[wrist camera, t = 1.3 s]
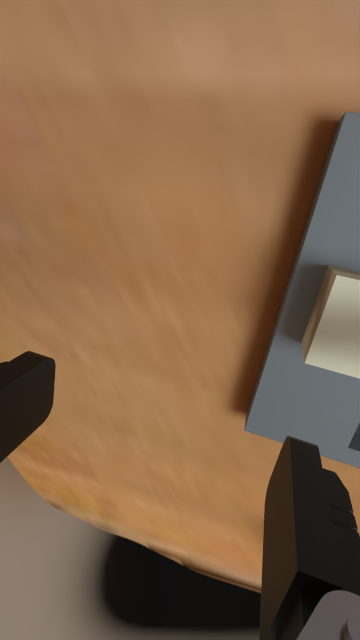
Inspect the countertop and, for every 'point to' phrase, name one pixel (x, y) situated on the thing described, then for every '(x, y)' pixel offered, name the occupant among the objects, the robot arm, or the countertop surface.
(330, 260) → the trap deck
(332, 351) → the birch block
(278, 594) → the robot arm
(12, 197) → the countertop surface
